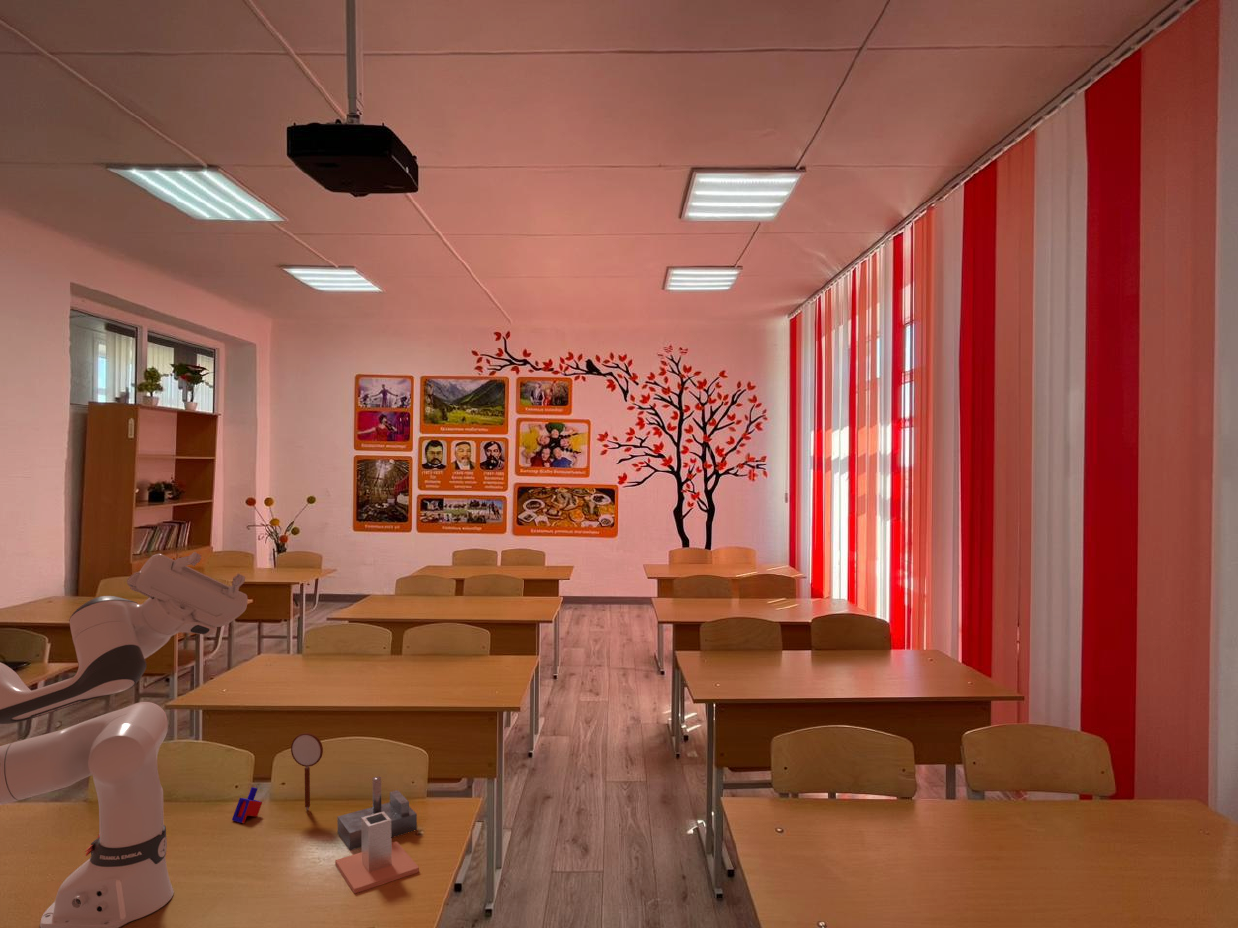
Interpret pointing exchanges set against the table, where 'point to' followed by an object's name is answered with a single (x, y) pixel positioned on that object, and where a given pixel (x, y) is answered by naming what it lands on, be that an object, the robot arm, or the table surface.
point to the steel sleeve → (376, 841)
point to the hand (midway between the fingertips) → (220, 566)
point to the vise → (395, 810)
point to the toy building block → (247, 807)
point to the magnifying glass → (307, 757)
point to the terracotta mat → (365, 880)
